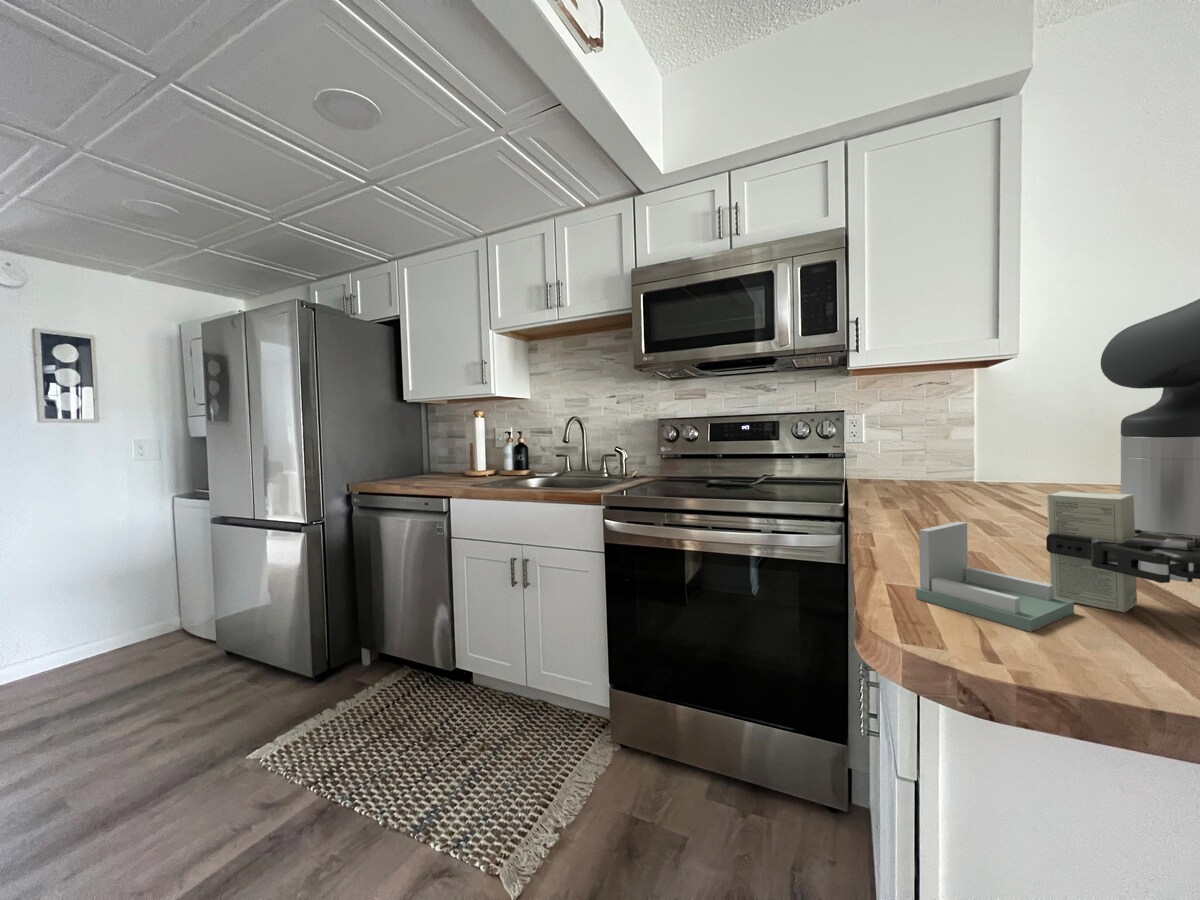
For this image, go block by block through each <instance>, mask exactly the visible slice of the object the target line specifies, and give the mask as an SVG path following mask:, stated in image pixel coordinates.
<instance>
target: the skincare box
mask: <svg viewBox="0 0 1200 900" xmlns="http://www.w3.org/2000/svg"><path fill="white" fill-rule="evenodd" d="M1046 502H1047V503H1046V505H1047V532H1048V533H1047V535H1049V534H1052V533H1056V534H1064V535H1071V536H1078V537H1085V538H1093V539H1096V538H1101V539H1105V540H1115V541H1122V540H1124V538H1126V537H1134V538H1135V519H1134V496H1133V494H1121V493H1109V492H1108V493H1106V492H1091V491H1090V492H1088V491H1086V492H1085V491H1072V490H1071V491H1069V490H1059V491H1055V492H1051V493H1048V494H1046ZM1048 558H1049V559H1048V561H1049V562H1048V563H1049V584H1051V585H1054V597H1055V598H1059V599H1063V600H1067V601H1072V602H1074V604H1079V605H1081V604H1082V605H1086V606H1091V607H1094V608H1095V607H1096V608H1098V609H1099V608H1100V609H1105V610H1110V611H1114V612H1115V611H1116V612H1120V613H1126V612H1128V611H1130V609H1131V608H1133V607H1135V606H1136V605H1137V603H1138V600H1137V599H1138V593H1137V577H1135V576H1130V575H1126V574H1122V573H1118V572H1113V571H1109V570H1105V569H1099V568H1096V567H1093V566H1091V560H1089V559H1083V558H1077V557H1071V556H1065V555H1059V554H1053V553H1050V552H1048ZM1108 558H1112V559H1117V558H1118V556H1117V554H1116V553H1114V552H1110V551H1108Z"/></svg>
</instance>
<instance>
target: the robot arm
mask: <svg viewBox="0 0 1200 900" xmlns="http://www.w3.org/2000/svg"><path fill="white" fill-rule="evenodd" d="M1100 369H1101V372H1102V374H1103V375H1104V377H1106V378H1107V380H1108V381H1110V382H1111V383H1113V384H1115V385H1117V386H1121V387H1123V388H1124V387H1125V388H1130V389H1142V390H1143V389H1144V390H1145V389H1162V393H1161V397H1160V399H1159V400H1158V401H1156V403H1155V404H1153V405H1152V406H1149V407H1148V408H1146V409H1143V410H1140V411H1138V412H1135V413H1132V414H1128V415H1126V416H1125V417H1124V418H1123V419H1121V422H1120V494H1133V496H1134V519H1135V538H1134V537H1126V538H1124V540H1122V541H1115V540H1105V539H1101V538H1096V539H1093V538H1085V537H1078V536H1071V535H1064V534H1056V533H1052V534H1049V535H1048V534H1047V535H1046V539H1045V540H1046V551H1047V552H1048V553H1049V552H1050V553H1053V554H1059V555H1065V556H1071V557H1077V558H1083V559H1089V560H1091V566H1093V567H1096V568H1099V569H1105V570H1109V571H1113V572H1118V573H1122V574H1126V575H1130V576H1135V577H1136V578H1139V579H1144V580H1149V581H1153V582H1156V583H1159V584H1165V583H1167V584H1168V583H1170V582H1171V581H1177V582H1183V583H1185V582H1186V583H1193V582H1194V579H1195V580H1200V298H1198V299H1196V300H1194V301H1191V302H1190V303H1187V304H1184V305H1183V306H1180V307H1178V308H1176V309H1172V310H1170V311H1167V312H1165V313H1162V314H1160V315H1157V316H1153V317H1151V318H1148V319H1145V320H1143V321H1139V322H1137V323H1135V324H1132V325H1130V326H1128V327H1126V328H1124V329H1122V330H1121V331H1119V332H1117V334H1115V336H1113V337H1112V339H1110V341H1109V342H1108V343H1107V344H1106V346H1105V347H1104V349H1103V351H1102V353H1101V357H1100ZM1108 551H1110V552H1114V553H1116V554H1117V556H1118V558H1117V559H1112V558H1108Z"/></svg>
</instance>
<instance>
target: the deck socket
mask: <svg viewBox="0 0 1200 900" xmlns="http://www.w3.org/2000/svg"><path fill="white" fill-rule="evenodd" d="M918 531H919V532H918V534H919V587H916V588H915V599H916V600H920V601H923V602H927V603H930V604H934V605H937V606H941V607H944V608H948V609H951V610H954V611H957V610H959V611H958V612H960V613H964V612H965V613H964V614H967V613H968V615H971V616H975V617H978V618H982V619H985V620H989V621H992V622H995V623H999V624H1002V625H1006V626H1009V627H1012V628H1016V629H1019V630H1022V631H1027V632H1031V633H1032V632H1034V631H1036V630H1035V629H1037V628H1039V627H1041V628H1043V627H1044V626H1043V625H1046V624H1048V625H1050V624H1053V623H1055V622H1056V620H1057V621H1059V620H1061V618H1062V619H1064V618H1066V617H1068V616H1071V615H1073V614H1074V613H1075V602H1072V601H1067V600H1063V599H1059V598H1055V597H1054V585H1051V584H1050V583H1045V582H1040V581H1036V580H1031V579H1028V578H1027V579H1026V578H1022V577H1017V576H1013V575H1008V574H1003V573H1000V572H993V571H989V570H985V569H979V568H976V567H968V565H969V564H968V522H965V521H954V522H950V523H946V524H941V525H936V526H932V527H927V528H922V529H919V530H918ZM1072 613H1073V614H1072ZM1070 614H1071V615H1070ZM1065 616H1066V617H1065ZM1063 617H1064V618H1063ZM1054 621H1055V622H1054ZM1052 622H1053V623H1052ZM1049 623H1050V624H1049ZM1042 626H1043V627H1042ZM1046 626H1047V625H1046ZM1039 629H1040V628H1039ZM1037 630H1038V629H1037Z"/></svg>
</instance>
